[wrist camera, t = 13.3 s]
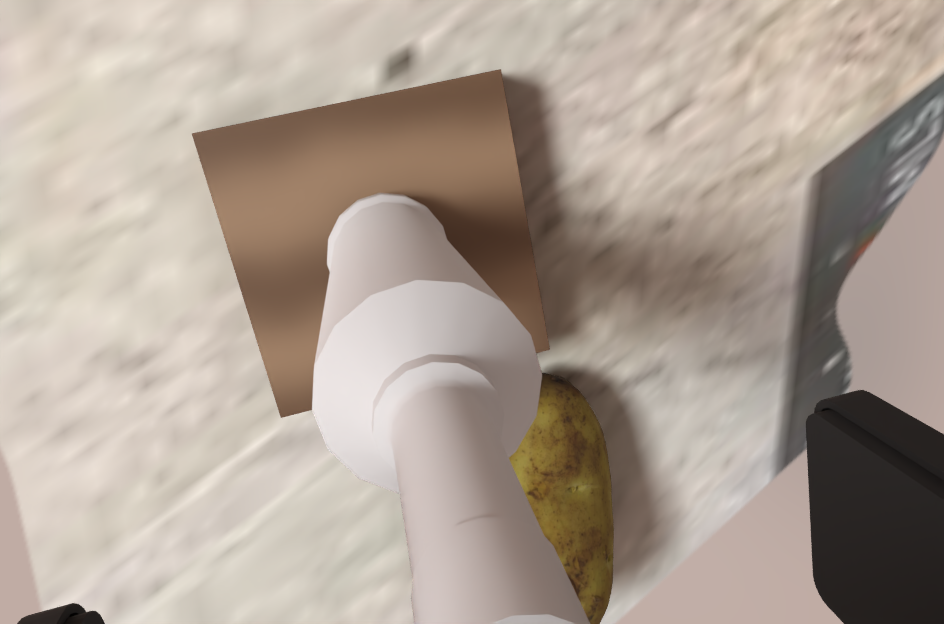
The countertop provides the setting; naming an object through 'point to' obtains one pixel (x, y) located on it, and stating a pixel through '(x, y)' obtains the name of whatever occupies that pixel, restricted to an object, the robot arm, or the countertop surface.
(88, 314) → the countertop surface
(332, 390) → the bottle
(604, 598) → the potato
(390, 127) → the walnut plinth
